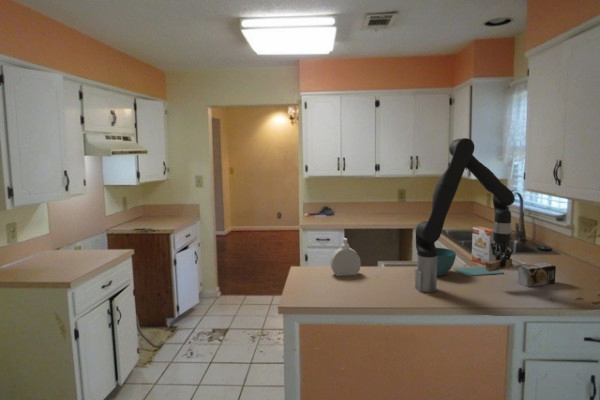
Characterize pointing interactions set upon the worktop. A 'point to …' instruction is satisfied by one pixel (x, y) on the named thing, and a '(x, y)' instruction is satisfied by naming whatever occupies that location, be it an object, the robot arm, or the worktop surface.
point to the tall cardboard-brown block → (509, 263)
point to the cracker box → (482, 245)
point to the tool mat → (476, 271)
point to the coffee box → (537, 274)
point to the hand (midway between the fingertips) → (500, 266)
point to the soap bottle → (345, 261)
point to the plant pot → (444, 260)
